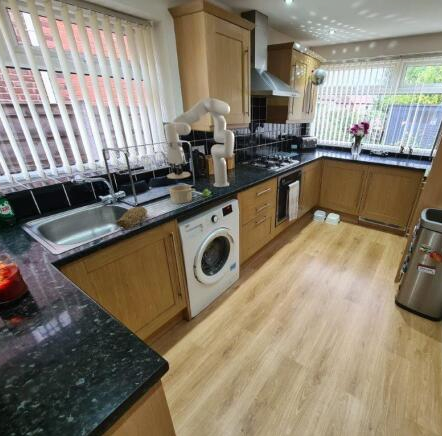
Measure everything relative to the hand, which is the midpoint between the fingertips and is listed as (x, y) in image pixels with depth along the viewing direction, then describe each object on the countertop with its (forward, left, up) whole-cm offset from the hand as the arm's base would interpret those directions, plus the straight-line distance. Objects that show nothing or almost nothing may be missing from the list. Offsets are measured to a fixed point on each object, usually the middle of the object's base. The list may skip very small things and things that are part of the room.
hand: (178, 173), depth 158 cm
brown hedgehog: (+36, -12, -18) cm, 42 cm away
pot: (0, 0, -18) cm, 18 cm away
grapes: (-9, +14, -18) cm, 24 cm away
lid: (0, 0, -1) cm, 1 cm away
